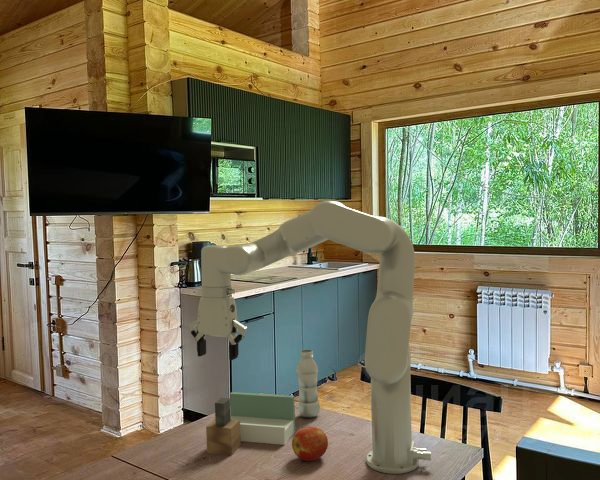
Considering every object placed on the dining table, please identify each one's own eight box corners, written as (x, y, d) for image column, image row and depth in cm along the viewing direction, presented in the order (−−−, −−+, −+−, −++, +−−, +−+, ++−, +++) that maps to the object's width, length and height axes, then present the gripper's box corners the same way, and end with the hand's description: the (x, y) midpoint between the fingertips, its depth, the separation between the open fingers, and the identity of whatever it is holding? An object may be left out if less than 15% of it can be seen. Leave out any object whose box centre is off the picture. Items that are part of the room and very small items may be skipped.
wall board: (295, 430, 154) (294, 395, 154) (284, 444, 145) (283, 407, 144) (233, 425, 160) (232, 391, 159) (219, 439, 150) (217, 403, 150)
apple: (288, 456, 138) (287, 425, 137) (317, 449, 141) (316, 419, 141) (303, 469, 130) (302, 436, 130) (333, 460, 134) (332, 429, 134)
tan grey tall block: (240, 445, 145) (239, 397, 145) (232, 455, 140) (230, 405, 139) (216, 443, 147) (214, 396, 147) (207, 452, 142) (205, 403, 141)
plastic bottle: (318, 420, 161) (316, 353, 160) (296, 419, 163) (293, 353, 162) (321, 412, 168) (319, 348, 167) (300, 411, 169) (298, 348, 168)
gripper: (252, 292, 142) (253, 356, 143) (196, 289, 149) (197, 350, 150) (238, 296, 135) (239, 364, 136) (180, 292, 142) (181, 357, 143)
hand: (217, 357), depth 143 cm, fingers open, 9 cm apart
